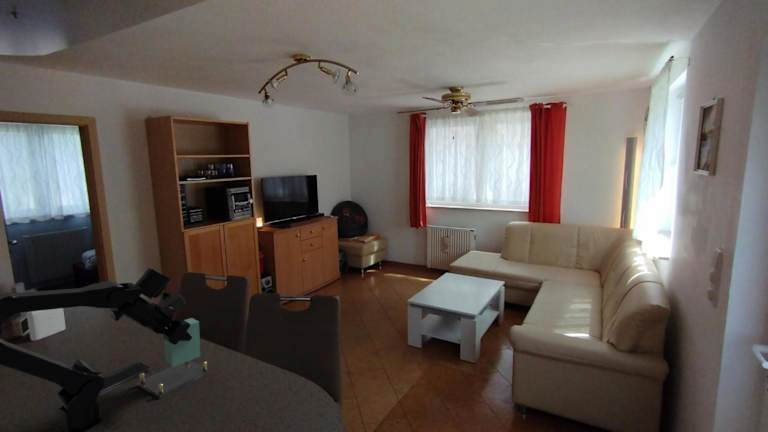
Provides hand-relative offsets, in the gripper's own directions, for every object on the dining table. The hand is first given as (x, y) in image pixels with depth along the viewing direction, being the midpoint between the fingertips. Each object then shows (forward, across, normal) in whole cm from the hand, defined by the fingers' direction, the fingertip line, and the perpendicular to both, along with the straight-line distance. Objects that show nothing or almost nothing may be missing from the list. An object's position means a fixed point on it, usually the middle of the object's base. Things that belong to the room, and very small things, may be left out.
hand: (186, 336), depth 108 cm
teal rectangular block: (+4, 0, +6) cm, 7 cm away
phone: (+1, +15, +19) cm, 24 cm away
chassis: (+7, +2, +11) cm, 13 cm away
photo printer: (-3, +69, +22) cm, 72 cm away
